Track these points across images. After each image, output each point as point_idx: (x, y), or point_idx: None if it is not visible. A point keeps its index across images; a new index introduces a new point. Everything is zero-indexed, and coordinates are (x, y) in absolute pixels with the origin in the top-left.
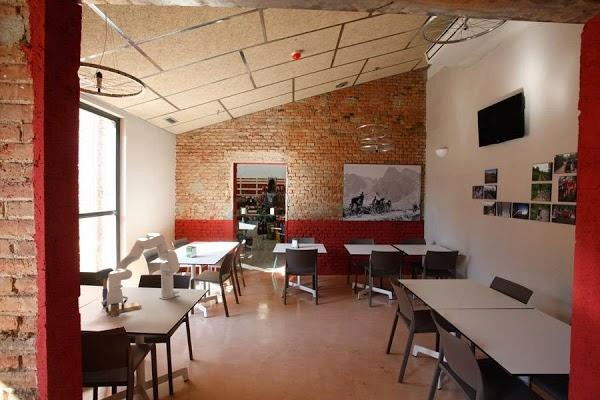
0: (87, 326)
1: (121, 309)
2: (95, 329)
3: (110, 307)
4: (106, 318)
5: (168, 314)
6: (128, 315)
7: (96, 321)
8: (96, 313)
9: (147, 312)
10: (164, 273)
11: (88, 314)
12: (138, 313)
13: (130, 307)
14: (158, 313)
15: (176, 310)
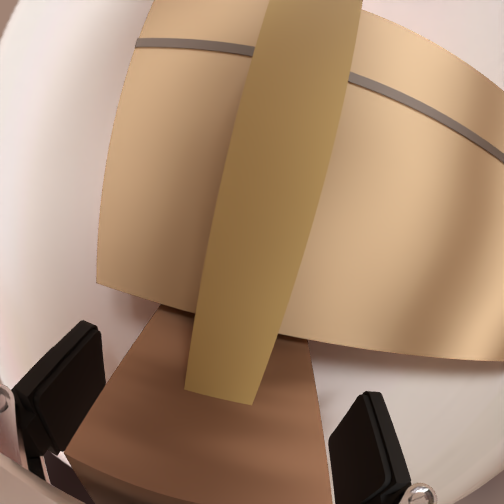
0: (6, 385)
1: (370, 341)
2: (61, 455)
3: (238, 26)
4: (107, 376)
5: (440, 500)
6: (329, 456)
7: (32, 360)
8: (51, 58)
9: (446, 457)
10: None
11: (5, 51)
12: (409, 453)
13: (480, 356)
14: (443, 484)
15: (491, 471)
